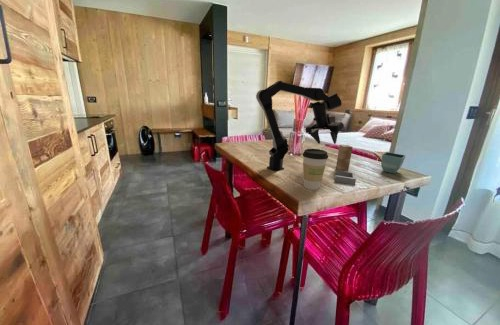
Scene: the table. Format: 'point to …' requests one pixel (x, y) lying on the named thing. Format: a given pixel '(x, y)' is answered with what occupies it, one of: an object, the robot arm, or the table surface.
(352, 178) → the u-shaped bracket
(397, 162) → the flower pot
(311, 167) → the coffee cup
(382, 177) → the table surface
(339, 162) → the wooden block
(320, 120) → the robot arm
